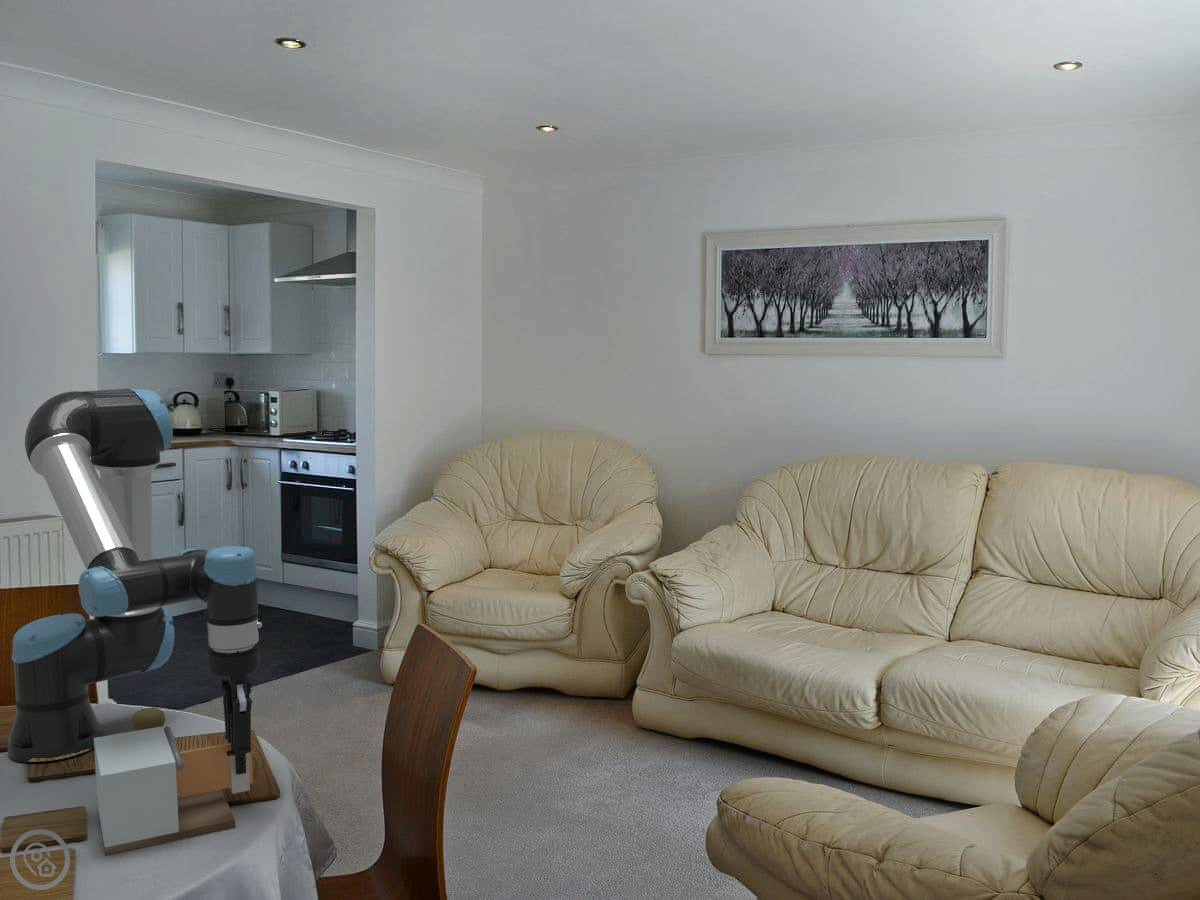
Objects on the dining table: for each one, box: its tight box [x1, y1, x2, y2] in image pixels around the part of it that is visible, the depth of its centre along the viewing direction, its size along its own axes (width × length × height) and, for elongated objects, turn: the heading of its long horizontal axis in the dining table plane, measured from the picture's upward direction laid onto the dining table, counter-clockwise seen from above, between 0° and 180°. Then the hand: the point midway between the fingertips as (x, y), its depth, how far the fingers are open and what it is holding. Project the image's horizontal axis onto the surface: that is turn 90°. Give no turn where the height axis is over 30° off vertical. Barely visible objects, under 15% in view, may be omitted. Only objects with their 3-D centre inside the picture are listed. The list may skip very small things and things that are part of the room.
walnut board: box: [96, 789, 236, 856], centre depth 163 cm, size 16×18×1 cm
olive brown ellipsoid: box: [131, 707, 166, 731], centre depth 180 cm, size 6×6×11 cm
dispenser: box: [93, 725, 184, 847], centre depth 161 cm, size 16×11×11 cm
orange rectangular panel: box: [176, 742, 254, 798], centre depth 165 cm, size 1×16×7 cm, turn 119°
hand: (239, 789), depth 168 cm, fingers closed, pressing on orange rectangular panel
